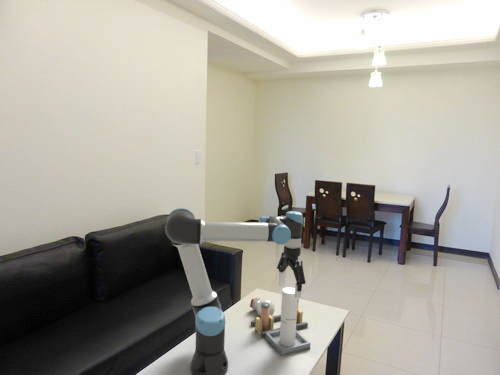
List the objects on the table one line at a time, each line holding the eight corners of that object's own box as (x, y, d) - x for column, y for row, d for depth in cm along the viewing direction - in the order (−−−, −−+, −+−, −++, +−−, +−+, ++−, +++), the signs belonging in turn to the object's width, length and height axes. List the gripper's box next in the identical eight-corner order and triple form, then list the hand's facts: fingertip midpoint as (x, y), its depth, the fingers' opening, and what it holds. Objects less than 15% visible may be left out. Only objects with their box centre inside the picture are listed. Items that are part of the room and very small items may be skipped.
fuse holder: (262, 337, 164) (262, 325, 163) (250, 324, 175) (251, 313, 174) (307, 327, 175) (308, 315, 174) (294, 315, 186) (294, 304, 186)
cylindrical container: (294, 347, 156) (297, 294, 153) (278, 344, 158) (281, 292, 154) (295, 338, 163) (298, 288, 160) (280, 336, 165) (283, 286, 161)
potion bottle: (270, 324, 179) (252, 315, 191) (281, 309, 184) (263, 301, 196) (261, 312, 176) (244, 304, 187) (273, 298, 180) (255, 290, 192)
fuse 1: (262, 332, 169) (263, 307, 167) (258, 328, 173) (259, 303, 171) (270, 330, 171) (271, 305, 169) (266, 326, 174) (267, 301, 173)
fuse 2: (292, 325, 176) (293, 301, 174) (287, 321, 180) (289, 297, 178) (299, 323, 178) (300, 299, 176) (294, 320, 182) (295, 296, 180)
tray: (281, 355, 151) (281, 350, 150) (265, 337, 164) (265, 332, 164) (310, 348, 157) (310, 343, 157) (292, 331, 170) (292, 326, 170)
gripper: (316, 253, 145) (312, 301, 148) (285, 237, 167) (282, 279, 170) (301, 255, 142) (297, 304, 144) (271, 239, 164) (269, 281, 167)
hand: (289, 291), depth 157 cm, fingers open, 13 cm apart
